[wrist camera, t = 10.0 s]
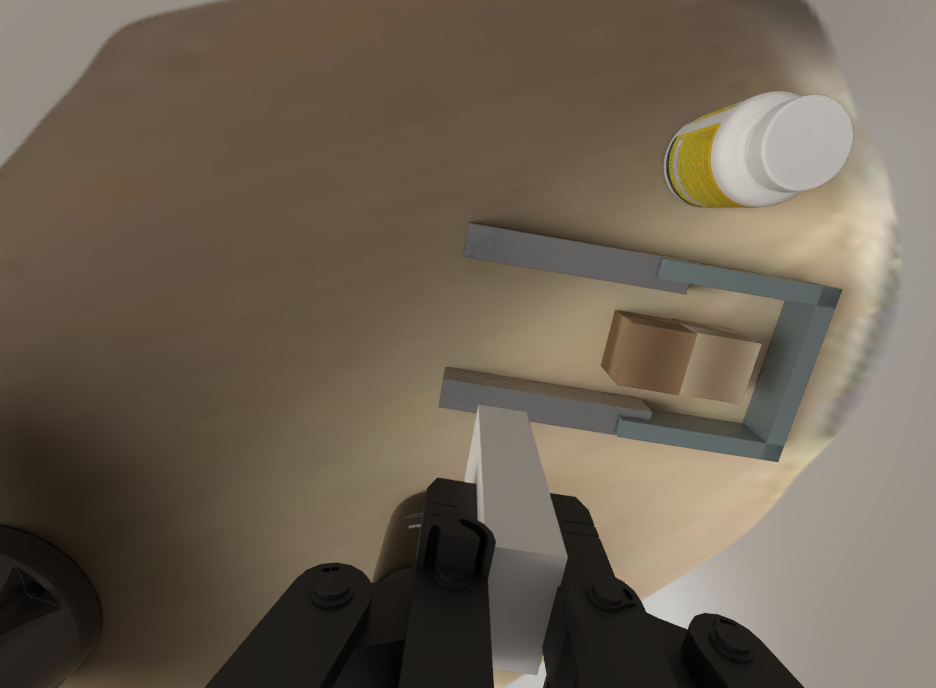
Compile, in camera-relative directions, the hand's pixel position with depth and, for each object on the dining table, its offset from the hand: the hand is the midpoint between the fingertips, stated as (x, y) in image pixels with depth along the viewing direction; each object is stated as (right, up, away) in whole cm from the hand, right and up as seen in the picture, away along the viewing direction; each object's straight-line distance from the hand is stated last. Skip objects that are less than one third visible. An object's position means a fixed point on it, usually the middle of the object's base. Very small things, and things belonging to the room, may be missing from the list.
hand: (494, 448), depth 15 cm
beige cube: (+15, +3, +19) cm, 24 cm away
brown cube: (+11, +3, +19) cm, 22 cm away
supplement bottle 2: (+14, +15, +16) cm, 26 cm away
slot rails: (+5, +4, +19) cm, 20 cm away
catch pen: (+15, +3, +19) cm, 25 cm away
